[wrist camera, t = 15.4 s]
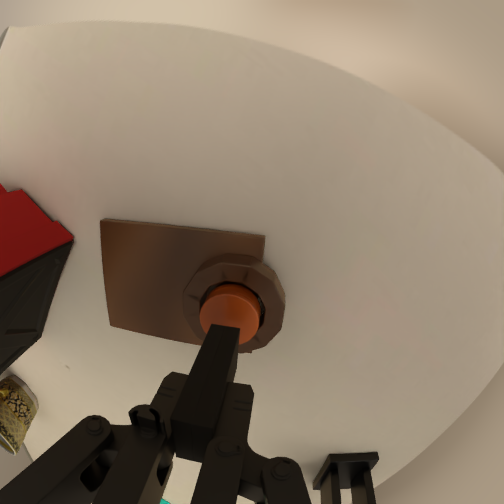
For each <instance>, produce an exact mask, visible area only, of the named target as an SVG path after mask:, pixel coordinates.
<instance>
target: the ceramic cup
mask: <svg viewBox="0 0 504 504" xmlns="http://www.w3.org/2000/svg"><path fill="white" fill-rule="evenodd" d="M38 407H39V406H38V402H37V398H36V397H35V395H34V394H33V393H32V392H31V390H30V389H29V388H28V386H27V385H26V384H25V383H24V382H23V381H21V380H20V379H19V378H18V377H17V376H15V375H14V376H8V377H6V378H5V379H3V380H1V381H0V446H1V447H2V448H3V449H4V450H6V451H7V452H9V453H10V454H12V455H16V454H17V452H18V451H19V449H20V447H21V445H22V442H23V440H24V438H25V435H26V432H27V431H28V429H29V427H30V425H31V422H32V420H33V418H34V416H35V415H36V412H37V410H38Z"/></svg>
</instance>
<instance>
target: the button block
mask: <svg viewBox="0 0 504 504" xmlns="http://www.w3.org/2000/svg"><path fill="white" fill-rule="evenodd" d="M100 233H101V250H102V263H103V274H104V284H105V292H106V300H107V308H108V314H109V321H110V326H113V327H117V328H121V329H125V330H129V331H133V332H138V333H142V334H146V335H151V336H155V337H160V338H165V339H169V340H174V341H179V342H185V343H190V344H195V345H201V346H202V344H203V341H204V339H205V337H206V335H207V334H206V333H205V331H204V330H203V328H202V326H201V323H200V311H201V308H202V306H203V304H204V302H205V300H206V298H207V296H208V295H209V293H210V292H211V291H212V290H213V289H215V288H216V287H218V286H220V285H224V284H237V285H241V286H243V287H245V288H247V289H249V290H250V291H251V292H252V293H253V294H254V295H255V296H256V297H257V299H258V298H259V297H260V299H261V301H262V303H263V305H264V307H265V311H264V312H263V313H262V314H261V316H260V320H259V326H258V330H257V332H256V334H255V335H254V336H253V337H252V338H251V339H250V340H249V341H247V342H245V343H243V344H239V347H238V353H252V350H256V349H259V348H262V347H265V346H266V345H267V344H268V343H269V342H270V341H271V340H272V339H273V338H274V337H275V336H276V334H277V333H278V332H279V331H280V330H281V328H282V322H283V316H284V310H285V293H284V291H283V288H282V286H281V284H280V282H279V280H278V277H277V275H276V273H275V272H274V271H273V270H272V269H270V268H269V267H268V266H266V265H265V264H263V255H264V246H265V236H263V235H254V234H246V233H237V232H228V231H220V230H211V229H201V228H192V227H183V226H173V225H164V224H154V223H144V222H134V221H124V220H113V219H103V220H100Z"/></svg>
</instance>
